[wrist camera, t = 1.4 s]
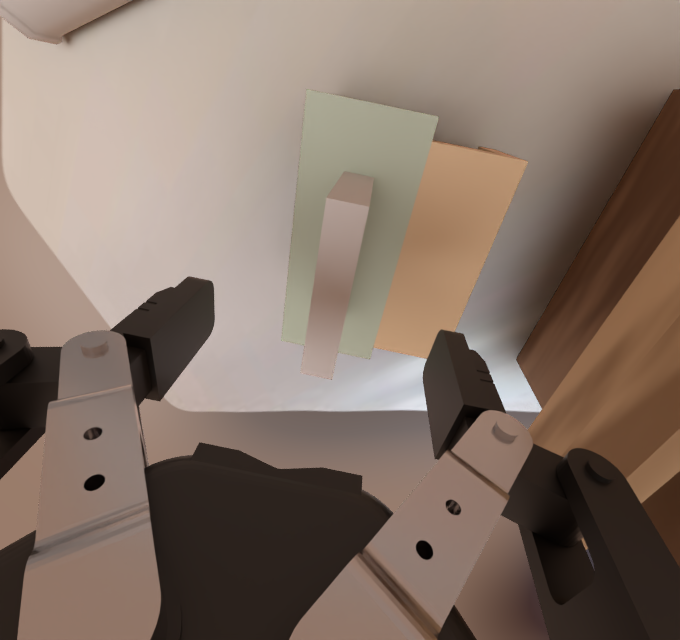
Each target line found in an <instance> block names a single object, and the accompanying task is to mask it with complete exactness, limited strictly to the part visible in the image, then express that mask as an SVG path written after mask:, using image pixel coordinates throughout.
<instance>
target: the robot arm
mask: <svg viewBox="0 0 680 640" xmlns="http://www.w3.org/2000/svg"><path fill="white" fill-rule="evenodd" d="M214 320H215V315H214V286H213V283H212V281H209V280H204V279H199V278H195V277H187V278H186V279H185V280H183V281H182V282H181V283H180V284H179V285H178V286H177V287H175V288H173V287H170V288H167V289H164V290H162V291H159V292H157V293H155V294H154V295H153V296H152V297H150V298H149V299H148V300H147V301H146V303H145V302H144V303H143V304H142V305H141V306H139V307H138V309H136V310H134V311H133V312H132V313H131V314H130V315H128V316H127V317H126V318H125V319H123V320H122V321H121V322H120V323H118V324H117V325H116V326H115V327H114V328H112V329H111V330H110V331H92V332H87V333H83V334H81V335H78V336H76V337H74V338H72V339H70V340H69V341H67V342H66V343H65V344H64V345H63V347H30V344H29V342H28V339H27V337H26V335H25V334H23V333H22V332H19V331H15V330H3V329H2V330H0V479H1V478H2V477H3V476H4V475H5V474H6V473H7V472H8V471H9V470H10V469H11V468H12V467H13V466H14V465H15V464H16V462H17V461H18V460H19V459H20V458H21V457H22V456H23V455H24V454H25V453H26V452H27V451H28V450H29V449H30V448H31V447H32V446H33V445H34V444H35V443H36V442H37V440H38V439H39V438H40V437H41V436H42V435H43V434H44V433H45V442H44V443H45V444H44V452H43V453H44V454H43V463H42V475H41V485H40V497H39V507H38V517H37V529H36V530H35V531H33V532H31V533H30V534H28V535H26V536H24V537H23V538H21V539H19V540H17V541H16V542H14V543H12V544H10V545H9V546H7V547H5V548H4V549H2V550H0V640H477V639H476V638H475V636H474V635H473V633H472V632H471V630H470V629H469V627H468V626H467V624H466V622H465V621H464V619H463V618H462V616H461V615H460V613H459V612H458V610H457V608H456V607H455V605H454V603H455V601H456V599H457V597H458V595H459V593H460V592H461V590H462V588H463V586H464V584H465V582H466V580H467V578H468V576H469V574H470V573H471V571H472V569H473V567H474V565H475V563H476V561H477V559H478V557H479V555H480V553H481V552H482V550H483V548H484V546H485V544H486V542H487V540H488V538H489V536H490V534H491V532H492V530H493V529H494V527H495V525H496V523H497V521H498V519H499V517H500V515H502V516H504V517H506V518H508V519H509V520H511V521H513V522H515V523H517V524H518V525H519V529H520V533H521V536H522V540H523V544H524V547H525V551H526V555H527V558H528V562H529V566H530V569H531V573H532V577H533V580H534V584H535V587H536V591H537V595H538V599H539V602H540V605H541V610H542V613H543V617H544V620H545V624H546V628H547V632H548V635H549V639H550V640H680V567H679V566H678V564H677V562H676V561H675V559H674V557H673V556H672V554H671V552H670V551H669V549H668V548H667V546H666V544H665V543H664V541H663V539H662V538H661V536H660V534H659V533H658V531H657V529H656V528H655V526H654V524H653V523H652V521H651V519H650V518H649V516H648V514H647V513H646V511H645V509H644V508H643V506H642V504H641V503H640V501H639V499H638V498H637V496H636V494H635V493H634V491H633V489H632V488H631V486H630V484H629V483H628V481H627V480H626V478H625V477H624V475H623V474H622V473H621V472H620V471H619V469H618V468H617V467H616V466H614V465H613V464H612V463H611V462H610V461H608V460H607V459H605V458H604V457H602V456H601V455H599V454H597V453H595V452H593V451H590V450H587V449H583V448H574V449H571V450H570V451H569V452H568V453H567V454H566V456H565V457H562V456H560V455H558V454H555V453H553V452H551V451H549V450H546V449H544V448H542V447H540V446H538V445H536V444H534V443H533V440H532V437H531V435H530V433H529V431H528V430H527V429H526V427H525V426H524V425H523V424H521V423H520V422H519V421H518V420H517V419H515V418H513V417H512V416H510V415H508V414H506V412H505V409H504V407H503V404H502V402H501V399H500V397H499V394H498V392H497V389H496V387H495V385H494V384H493V380H492V377H491V375H489V373H490V372H489V370H488V367H487V365H486V362H485V361H484V360H483V359H482V358H481V356H480V355H479V354H478V353H477V352H476V351H474V350H469V348H468V345H467V342H466V340H465V337H464V335H463V334H462V333H457V332H452V331H447V330H443V329H441V330H440V331H439V332H438V334H437V336H436V338H435V341H434V343H433V346H432V348H431V351H430V353H429V356H428V358H427V361H426V363H425V366H424V371H423V384H424V391H425V397H426V404H427V410H428V417H429V424H430V430H431V437H432V444H433V450H434V457H435V459H438V461H437V463H436V464H435V465H434V466H433V467H432V469H431V470H430V471H429V472H428V473H427V474H426V476H425V477H424V478H423V479H422V480H421V482H420V483H419V484H418V485H417V486H416V488H415V489H414V490H413V491H412V492H411V494H410V495H409V496H408V497H407V498H406V500H405V501H404V502H403V503H402V504H401V505H400V507H399V508H398V509H397V510H396V511H395V513H393V512H392V511H391V510H390V509H389V508H388V507H387V506H386V505H385V504H383V503H382V502H381V501H380V500H378V499H377V498H375V497H374V496H372V495H371V494H369V493H368V492H366V491H364V490H362V476H361V475H356V474H351V473H346V472H341V471H336V470H331V469H327V468H301V469H300V468H299V469H277V468H274V467H272V466H270V465H268V464H266V463H264V462H262V461H260V460H258V459H256V458H254V457H252V456H250V455H247V454H246V453H243V452H241V451H239V450H234V449H229V448H224V447H219V446H214V445H209V444H205V443H199V445H198V446H197V448H196V450H195V452H194V454H193V455H188V456H180V457H175V458H171V459H166V460H163V461H160V462H158V463H155V464H152V465H150V466H149V463H148V457H147V452H146V445H145V439H144V433H143V427H142V421H141V414H140V408H139V405H140V404H141V402H142V401H143V400H144V398H146V399H151V400H156V401H160V400H161V399H162V398H163V397H164V395H165V394H166V393H167V391H168V390H169V389H170V387H171V386H172V385H173V383H174V382H175V381H176V379H177V378H178V377H179V376H180V374H181V373H182V372H183V370H184V369H185V368H186V366H187V365H188V364H189V362H190V361H191V360H192V358H193V357H194V356H195V354H196V353H197V352H198V351H199V349H200V348H201V347H202V345H203V344H204V343H205V341H206V340H207V339H208V337H209V336H210V334H211V332H212V330H213V326H214ZM582 538H584V540H585V543H586V545H587V547H588V550H589V552H590V554H591V557H592V560H593V563H594V569H595V571H594V569H593V567H592V564H591V562H590V559H589V557H588V555H587V552H586V550H585V547H584V545H583V542H582V540H581V539H582Z"/></svg>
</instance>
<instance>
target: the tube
mask: <svg viewBox="0 0 680 640" xmlns="http://www.w3.org/2000/svg"><path fill="white" fill-rule="evenodd" d="M130 1H132V0H0V16H1V17H2V18H3V19H4V20H6V21H7V22H8V23H10V24H11V25H12V26H13V27H15V28H16V29H17V30H18V31H20V32H21V33H22V34H24V35H25V36H26V37H27V38H29V39H33V40H38V41H43V42H47V43H52V44H59V43H61V42H62V36H63V35H64V34H66V33H68V32H70V31H72V30H74V29H76V28H78V27H80V26H82V25H84V24H86V23H88V22H90V21H92V20H94V19H96V18H98V17H100V16H102V15H104V14H106V13H108V12H110V11H112V10H114V9H116V8H118V7H120V6H122V5H124V4H126V3H128V2H130Z"/></svg>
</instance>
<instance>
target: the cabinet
mask: <svg viewBox="0 0 680 640" xmlns="http://www.w3.org/2000/svg"><path fill="white" fill-rule="evenodd" d="M438 119H439V116H434V115H429V114H424V113H420V112H415V111H410V110H405V109H400V108H396V107H391V106H386V105H381V104H376V103H372V102H367V101H362V100H357V99H352V98H348V97H343V96H338V95H333V94H328V93H324V92H319V91H314V90H309V89H306V99H305V109H304V119H303V128H302V138H301V148H300V158H299V168H298V178H297V188H296V198H295V208H294V218H293V228H292V237H291V247H290V257H289V267H288V277H287V287H286V297H285V307H284V317H283V327H282V337H281V341H285V342H290V343H294V344H299V345H304V352H303V359H302V365H301V372H300V373H303V374H307V375H312V376H317V377H322V378H326V379H331V380H332V377H333V372H334V368H335V363H336V358H337V354H338V353H342V354H347V355H352V356H356V357H361V358H366V359H370V357H371V354H372V350H373V347H374V348H378V349H383V350H388V351H393V352H397V353H402V354H407V355H412V356H416V357H421V358H426V359H427V358H428V356H429V353H430V351H431V348H432V346H433V343H434V341H435V338H436V336H437V334H438V332H439V331H440V330H441V329H443V330H447V331H452V332H455V329H456V327H457V325H458V323H459V320H460V318H461V316H462V313H463V311H464V309H465V306H466V304H467V302H468V299H469V297H470V295H471V293H472V290H473V288H474V286H475V283H476V281H477V279H478V276H479V274H480V272H481V270H482V267H483V265H484V263H485V260H486V258H487V256H488V253H489V251H490V249H491V246H492V244H493V242H494V240H495V237H496V235H497V233H498V230H499V228H500V226H501V223H502V221H503V219H504V216H505V214H506V212H507V210H508V207H509V205H510V203H511V200H512V198H513V196H514V193H515V191H516V189H517V187H518V184H519V182H520V180H521V177H522V175H523V173H524V170H525V168H526V166H527V163H528V161H525V160H522V159H519V158H517V157H514V156H511V155H508V154H505V153H503V152H500V151H497V150H494V149H489V148H484V147H478V149H473V148H468V147H463V146H459V145H454V144H449V143H444V142H439V141H434V140H433V136H434V133H435V129H436V126H437V122H438Z"/></svg>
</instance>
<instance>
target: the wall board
mask: <svg viewBox="0 0 680 640" xmlns="http://www.w3.org/2000/svg"><path fill="white" fill-rule="evenodd" d="M516 360H517V362H518V364H519V366H520V368H521V370H522V372H523V374H524V375H525V377H526V379H527V381H528V383H529V385H530V387H531V389H532V391H533V393H534V394H535V396H536V398H537V400H538V402H539V404H540V406H541V408H542V410H541V412H540V413H539V415H538V416H537V418H536V419H535V421H534V422H533V423H532V425H531V426H530V428H529V429H528V431H529V433H530V435H531V437H532V440H533V443H534V444H536V445H538V446H540V447H542V448H544V449H546V450H549V451H551V452H553V453H555V454H558V455H560V456H562V457H565V456H566V454H567V453H568V452H569V451H570V450H571V449H574V448H583V449H587V450H590V451H593V452H595V453H597V454H599V455H601V456H602V457H604V458H605V459H607V460H608V461H610V462H611V463H612V464H613V465H614V466H616V467H617V468H618V469H619V471H620V472H621V473H622V474H623V475H624V477H625V478H626V480H627V481H628V483H629V484H630V486H631V488H632V489H633V491H634V493H635V494H636V496H637V498H638V499H639V501H640V503H641V504H642V506H643V508H644V509H645V511H646V513H647V514H648V516H649V518H650V519H651V521H652V523H653V524H654V526H655V528H656V529H657V531H658V533H659V534H660V536H661V538H662V539H663V541H664V543H665V544H666V546H667V548H668V549H669V551H670V552H671V554H672V556H673V557H674V559H675V561H676V562H677V564H678V566H679V567H680V89H676V90H673V92H672V94H671V95H670V97H669V99H668V100H667V102H666V104H665V105H664V107H663V109H662V111H661V112H660V114H659V116H658V117H657V119H656V121H655V123H654V124H653V126H652V128H651V129H650V131H649V133H648V135H647V136H646V138H645V140H644V141H643V143H642V145H641V147H640V148H639V150H638V152H637V153H636V155H635V157H634V159H633V160H632V162H631V164H630V165H629V167H628V169H627V171H626V172H625V174H624V176H623V177H622V179H621V181H620V183H619V184H618V186H617V188H616V189H615V191H614V193H613V195H612V196H611V198H610V200H609V201H608V203H607V205H606V207H605V208H604V210H603V212H602V213H601V215H600V217H599V218H598V220H597V222H596V224H595V225H594V227H593V229H592V230H591V232H590V234H589V236H588V237H587V239H586V241H585V242H584V244H583V246H582V248H581V249H580V251H579V253H578V254H577V256H576V258H575V260H574V261H573V263H572V265H571V266H570V268H569V270H568V272H567V273H566V275H565V277H564V278H563V280H562V282H561V284H560V285H559V287H558V289H557V290H556V292H555V294H554V296H553V297H552V299H551V301H550V302H549V304H548V306H547V308H546V309H545V311H544V313H543V314H542V316H541V318H540V320H539V321H538V323H537V325H536V326H535V328H534V330H533V331H532V333H531V335H530V337H529V338H528V340H527V342H526V343H525V345H524V347H523V349H522V350H521V352H520V354H519V355H518V357H517V359H516ZM581 540H582V542H583V545H584V547H585V550H587V549H588V547H587V545H586V543H585V540H584V538H582V539H581Z"/></svg>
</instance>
